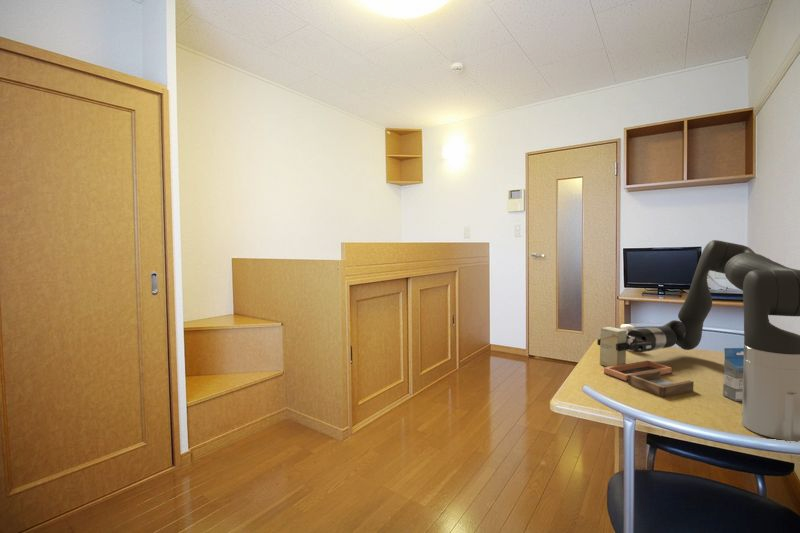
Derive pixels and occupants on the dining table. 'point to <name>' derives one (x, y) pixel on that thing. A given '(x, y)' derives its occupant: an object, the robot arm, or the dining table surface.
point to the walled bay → (659, 384)
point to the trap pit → (635, 369)
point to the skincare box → (612, 346)
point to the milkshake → (627, 327)
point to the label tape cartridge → (733, 374)
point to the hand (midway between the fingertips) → (607, 344)
